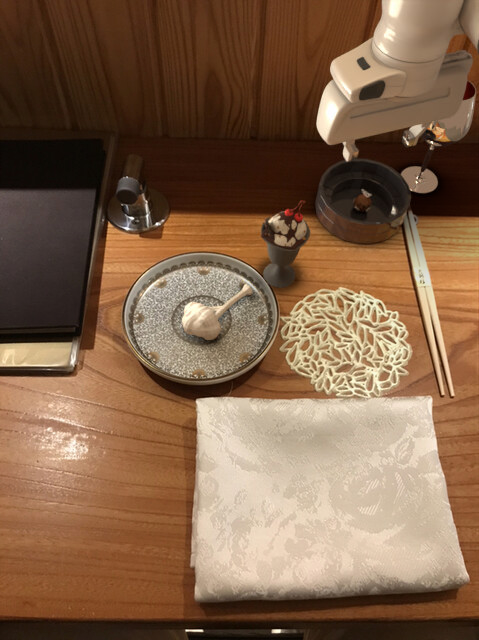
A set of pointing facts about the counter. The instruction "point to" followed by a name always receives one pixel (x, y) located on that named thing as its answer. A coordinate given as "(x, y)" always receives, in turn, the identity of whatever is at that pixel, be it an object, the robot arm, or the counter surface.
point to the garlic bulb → (208, 316)
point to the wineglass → (441, 141)
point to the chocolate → (362, 202)
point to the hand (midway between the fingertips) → (379, 150)
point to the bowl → (348, 183)
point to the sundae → (283, 245)
